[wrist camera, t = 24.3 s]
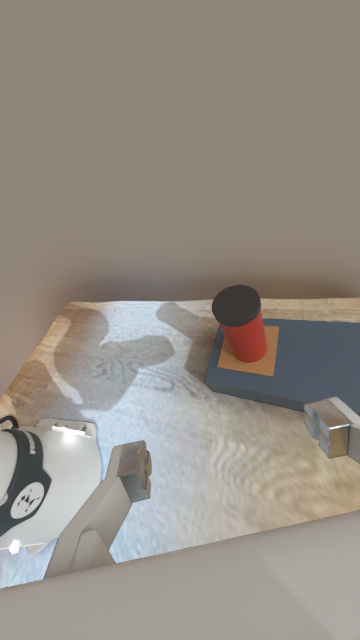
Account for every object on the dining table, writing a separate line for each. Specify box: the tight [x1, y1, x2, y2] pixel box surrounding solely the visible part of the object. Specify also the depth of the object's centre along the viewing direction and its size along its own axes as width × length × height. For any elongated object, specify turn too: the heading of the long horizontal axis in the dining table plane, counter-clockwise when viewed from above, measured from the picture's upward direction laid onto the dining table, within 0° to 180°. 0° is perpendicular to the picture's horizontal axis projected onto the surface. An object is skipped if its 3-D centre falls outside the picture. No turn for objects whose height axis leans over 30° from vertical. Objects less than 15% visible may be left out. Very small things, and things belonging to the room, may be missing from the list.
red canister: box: [212, 285, 267, 363], centre depth 29 cm, size 6×6×11 cm
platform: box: [204, 318, 360, 417], centre depth 32 cm, size 23×12×5 cm, turn 71°
